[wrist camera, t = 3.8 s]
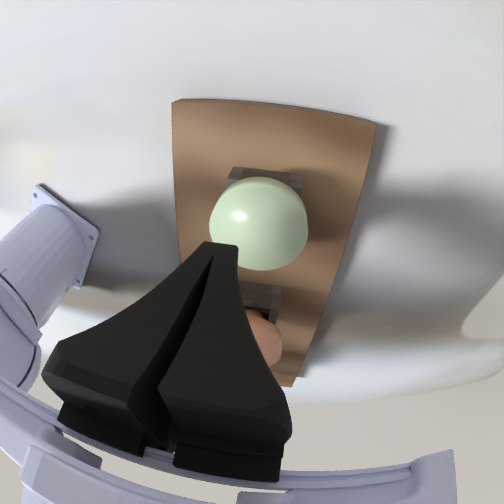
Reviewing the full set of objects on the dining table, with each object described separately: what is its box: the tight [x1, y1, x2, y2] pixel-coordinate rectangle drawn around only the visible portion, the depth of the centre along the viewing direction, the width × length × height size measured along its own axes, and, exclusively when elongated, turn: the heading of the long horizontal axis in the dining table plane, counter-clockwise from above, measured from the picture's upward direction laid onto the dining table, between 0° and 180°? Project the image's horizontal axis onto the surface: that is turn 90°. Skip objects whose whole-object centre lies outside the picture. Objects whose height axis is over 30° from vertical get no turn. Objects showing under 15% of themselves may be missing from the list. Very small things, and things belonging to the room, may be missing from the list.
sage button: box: [209, 177, 308, 271], centre depth 15 cm, size 5×5×3 cm
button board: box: [172, 99, 377, 387], centre depth 22 cm, size 28×11×3 cm, turn 176°
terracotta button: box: [245, 309, 282, 367], centre depth 19 cm, size 5×5×3 cm
